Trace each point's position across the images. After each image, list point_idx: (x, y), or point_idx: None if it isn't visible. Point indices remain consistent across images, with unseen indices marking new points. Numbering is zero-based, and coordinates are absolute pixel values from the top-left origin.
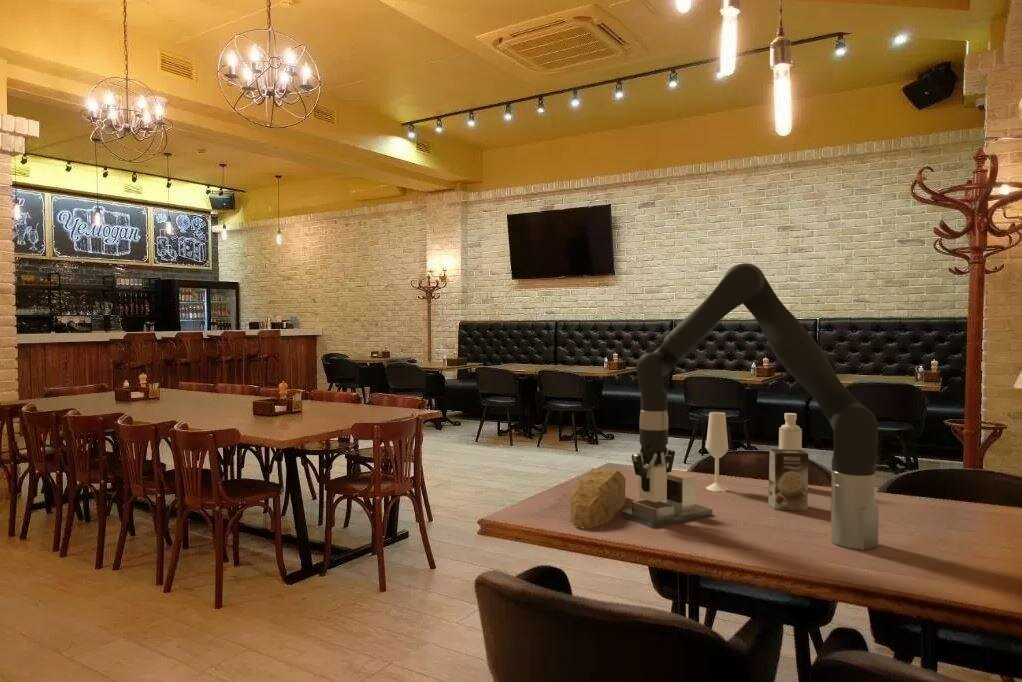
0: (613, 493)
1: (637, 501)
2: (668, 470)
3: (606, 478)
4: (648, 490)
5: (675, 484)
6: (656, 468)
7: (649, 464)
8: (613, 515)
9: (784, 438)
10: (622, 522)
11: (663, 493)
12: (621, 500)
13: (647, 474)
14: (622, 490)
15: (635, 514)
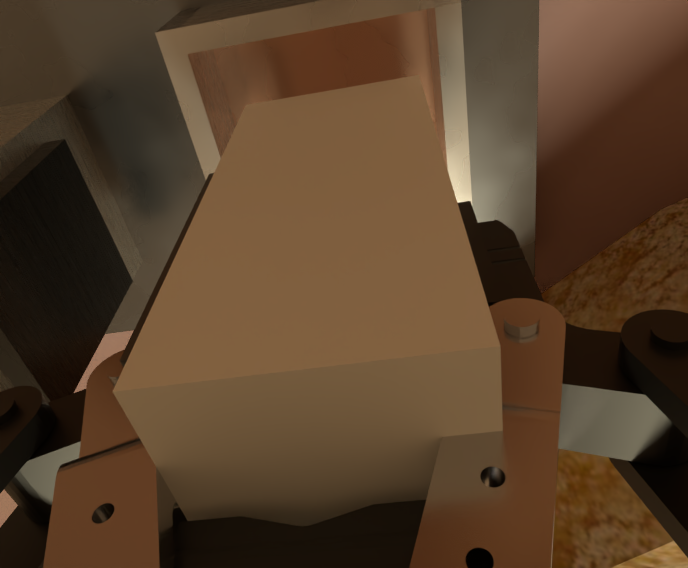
0: None
1: None
2: (35, 409)
3: (661, 561)
4: (463, 205)
5: (5, 285)
6: (435, 348)
7: (550, 514)
8: (578, 274)
9: None
10: (626, 134)
11: (272, 129)
12: None
13: (546, 341)
14: None
15: (505, 166)
